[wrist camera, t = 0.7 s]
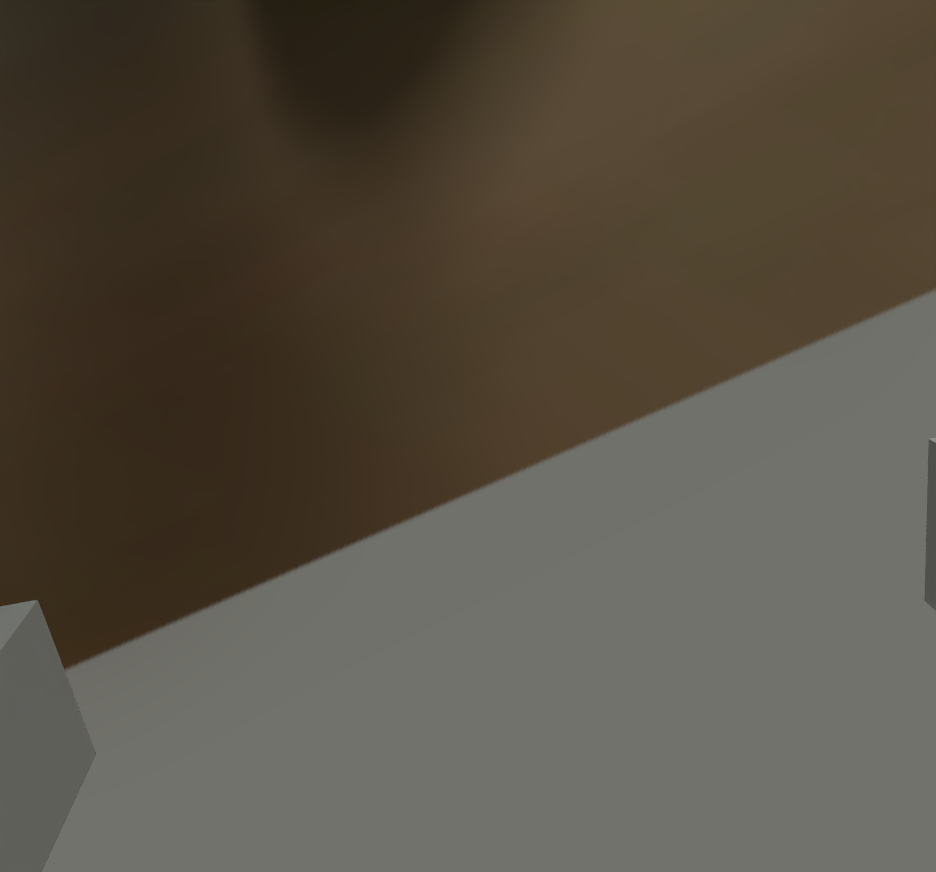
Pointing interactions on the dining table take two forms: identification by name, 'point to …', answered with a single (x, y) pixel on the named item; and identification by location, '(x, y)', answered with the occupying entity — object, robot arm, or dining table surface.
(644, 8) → the dining table surface
